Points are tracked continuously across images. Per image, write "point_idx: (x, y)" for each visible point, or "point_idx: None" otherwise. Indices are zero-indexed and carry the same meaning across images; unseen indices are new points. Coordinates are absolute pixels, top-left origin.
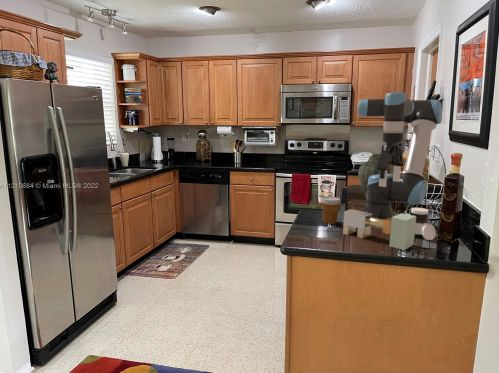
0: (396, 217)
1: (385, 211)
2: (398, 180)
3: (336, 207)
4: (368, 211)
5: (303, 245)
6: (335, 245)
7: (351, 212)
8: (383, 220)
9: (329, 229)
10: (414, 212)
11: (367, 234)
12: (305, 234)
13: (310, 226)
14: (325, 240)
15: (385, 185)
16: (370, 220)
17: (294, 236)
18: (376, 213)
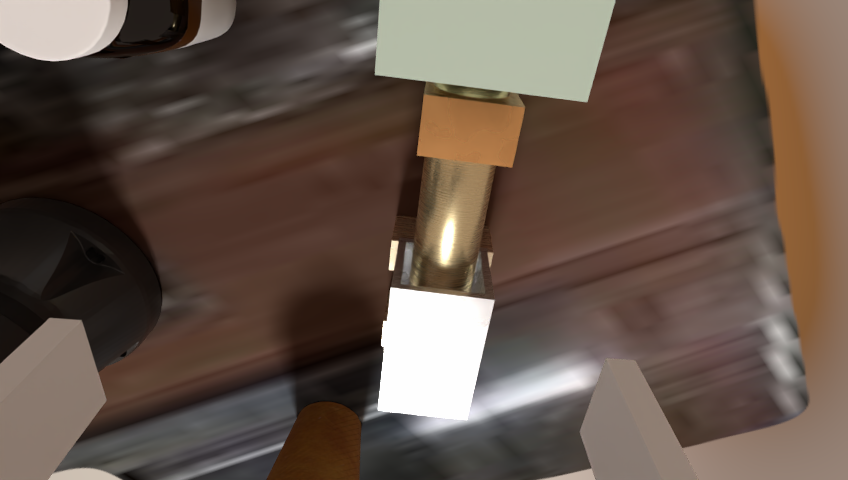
0: (567, 63)
1: (47, 266)
2: (71, 343)
3: (322, 476)
4: (118, 345)
5: (744, 380)
6: (677, 285)
7: (463, 384)
8: (472, 174)
9: None
10: (122, 6)
11: None
12: None
13: (457, 453)
14: (624, 342)
15: (641, 377)
16: (475, 252)
17: None
18: (109, 299)
